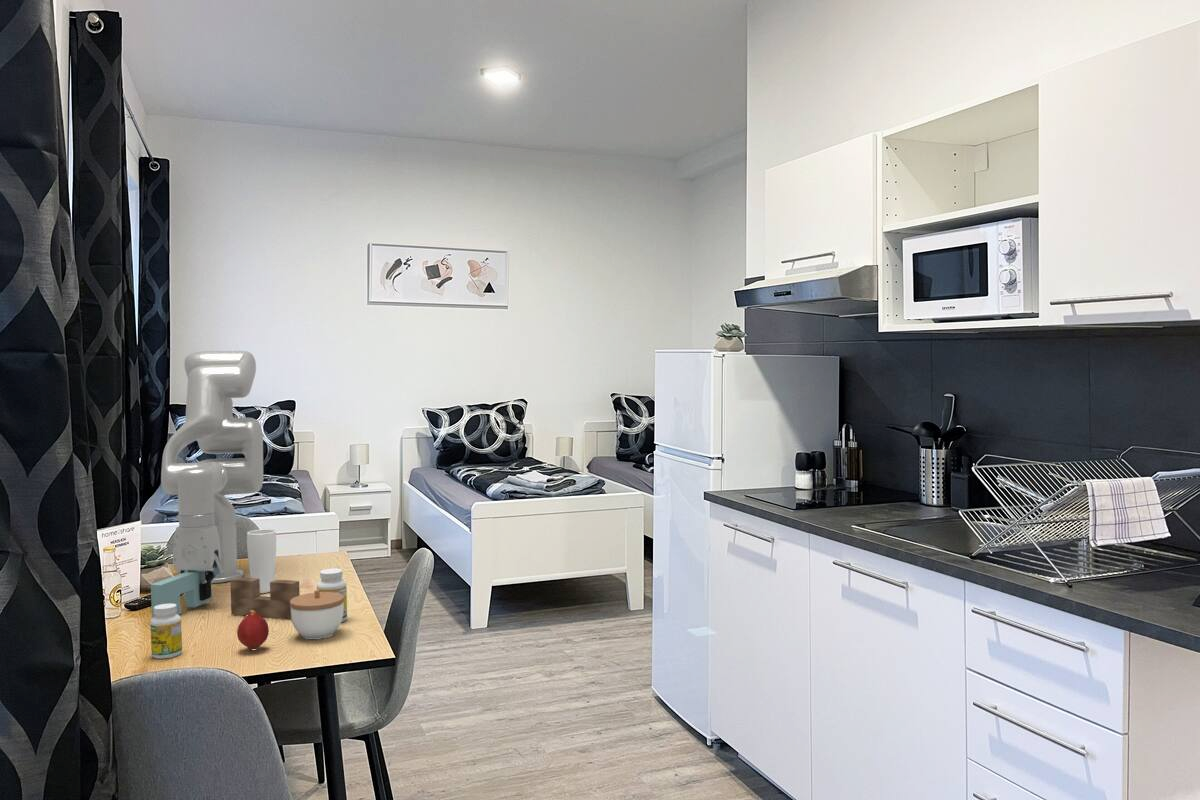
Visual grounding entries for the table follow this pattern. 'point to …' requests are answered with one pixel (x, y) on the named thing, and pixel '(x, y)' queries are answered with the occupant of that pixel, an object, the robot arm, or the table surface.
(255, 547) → the drinking glass
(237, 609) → the slotted stand
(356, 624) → the table surface
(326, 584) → the pill bottle
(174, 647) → the supplement bottle
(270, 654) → the table surface
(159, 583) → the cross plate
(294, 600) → the lidded jar
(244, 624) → the onion
